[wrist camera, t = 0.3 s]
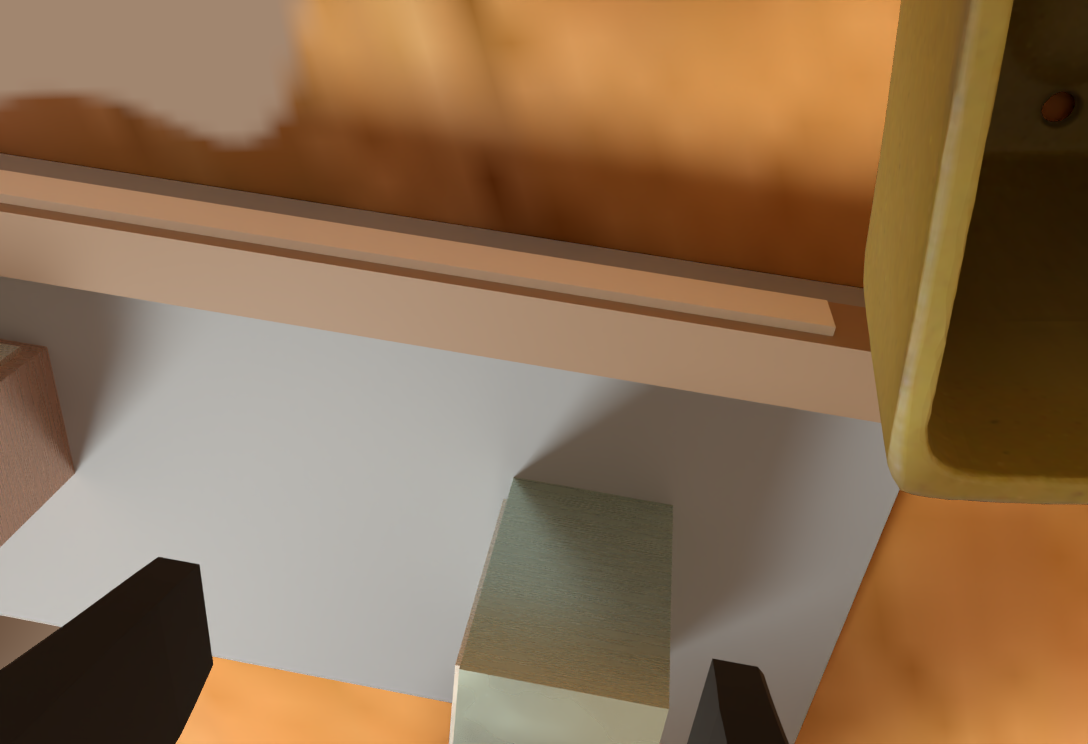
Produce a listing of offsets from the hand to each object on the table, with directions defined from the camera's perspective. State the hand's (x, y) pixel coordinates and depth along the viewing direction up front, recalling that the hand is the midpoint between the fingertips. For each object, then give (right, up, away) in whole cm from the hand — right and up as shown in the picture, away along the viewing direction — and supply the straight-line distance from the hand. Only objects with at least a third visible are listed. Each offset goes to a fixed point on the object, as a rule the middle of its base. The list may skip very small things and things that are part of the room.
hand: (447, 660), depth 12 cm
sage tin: (+2, -1, +11) cm, 11 cm away
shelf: (-5, +2, +11) cm, 13 cm away
